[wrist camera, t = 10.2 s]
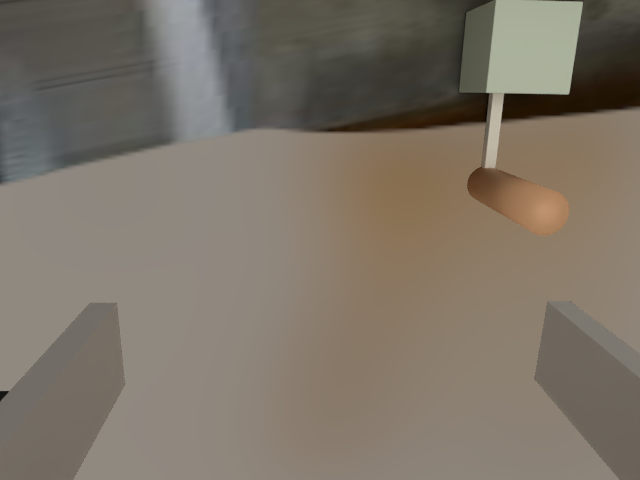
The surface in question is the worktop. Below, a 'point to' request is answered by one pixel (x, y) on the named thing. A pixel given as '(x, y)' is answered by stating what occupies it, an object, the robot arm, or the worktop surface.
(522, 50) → the block with rod
